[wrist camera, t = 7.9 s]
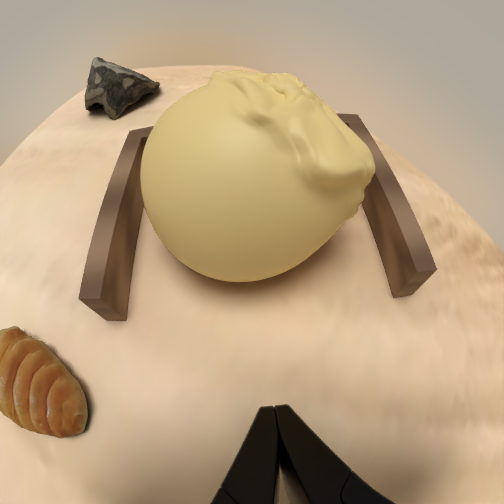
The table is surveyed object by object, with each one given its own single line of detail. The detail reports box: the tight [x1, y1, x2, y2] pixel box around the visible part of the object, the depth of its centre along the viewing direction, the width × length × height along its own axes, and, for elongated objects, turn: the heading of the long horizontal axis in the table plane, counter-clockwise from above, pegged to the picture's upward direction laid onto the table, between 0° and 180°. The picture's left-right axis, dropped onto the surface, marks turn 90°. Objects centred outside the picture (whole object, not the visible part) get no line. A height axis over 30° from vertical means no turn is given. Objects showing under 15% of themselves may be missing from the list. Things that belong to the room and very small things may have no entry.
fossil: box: [85, 57, 160, 120], centre depth 30 cm, size 11×9×10 cm
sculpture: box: [140, 70, 375, 282], centre depth 15 cm, size 11×12×11 cm
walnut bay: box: [79, 113, 437, 321], centre depth 19 cm, size 16×20×4 cm
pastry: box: [0, 326, 88, 438], centre depth 12 cm, size 9×7×4 cm
